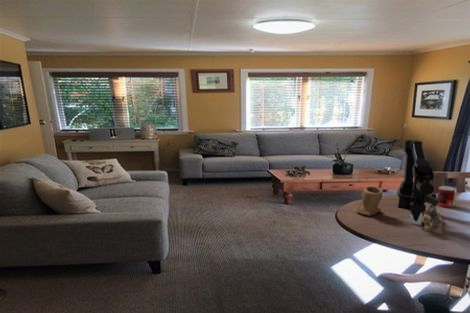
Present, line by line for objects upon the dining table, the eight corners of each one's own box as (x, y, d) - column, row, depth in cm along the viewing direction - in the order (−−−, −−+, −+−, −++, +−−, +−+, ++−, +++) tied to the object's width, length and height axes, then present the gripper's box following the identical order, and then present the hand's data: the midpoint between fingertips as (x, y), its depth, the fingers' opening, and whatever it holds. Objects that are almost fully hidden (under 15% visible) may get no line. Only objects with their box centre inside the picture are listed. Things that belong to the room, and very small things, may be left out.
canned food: (451, 204, 169) (454, 187, 167) (453, 209, 162) (456, 190, 160) (436, 202, 173) (438, 185, 171) (436, 206, 166) (439, 188, 164)
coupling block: (408, 223, 144) (409, 214, 143) (408, 219, 148) (410, 211, 147) (421, 226, 141) (422, 216, 140) (421, 222, 145) (422, 213, 144)
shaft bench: (424, 230, 136) (425, 220, 135) (423, 211, 158) (424, 202, 157) (443, 234, 132) (445, 223, 131) (439, 214, 154) (441, 205, 153)
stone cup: (372, 219, 149) (375, 192, 146) (352, 212, 158) (354, 186, 155) (387, 213, 157) (390, 187, 154) (367, 206, 167) (369, 182, 164)
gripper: (440, 197, 129) (435, 228, 132) (438, 186, 144) (434, 214, 148) (412, 192, 135) (408, 223, 138) (412, 183, 150) (409, 210, 153)
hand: (415, 217), depth 144 cm, fingers open, 9 cm apart
